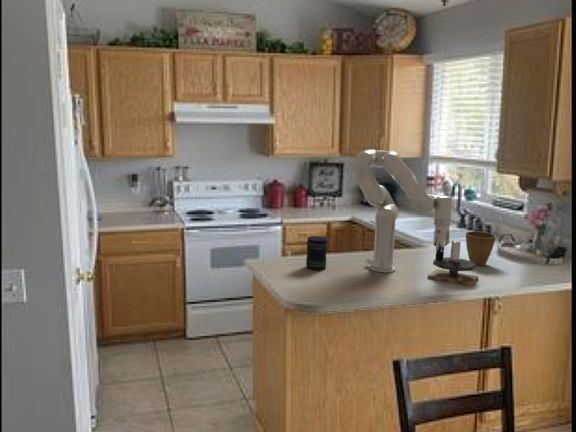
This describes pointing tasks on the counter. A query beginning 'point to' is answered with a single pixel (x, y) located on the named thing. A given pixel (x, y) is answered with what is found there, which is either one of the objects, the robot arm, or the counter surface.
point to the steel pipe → (454, 256)
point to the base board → (460, 279)
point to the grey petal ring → (455, 265)
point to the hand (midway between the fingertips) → (439, 259)
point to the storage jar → (316, 253)
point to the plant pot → (479, 246)
